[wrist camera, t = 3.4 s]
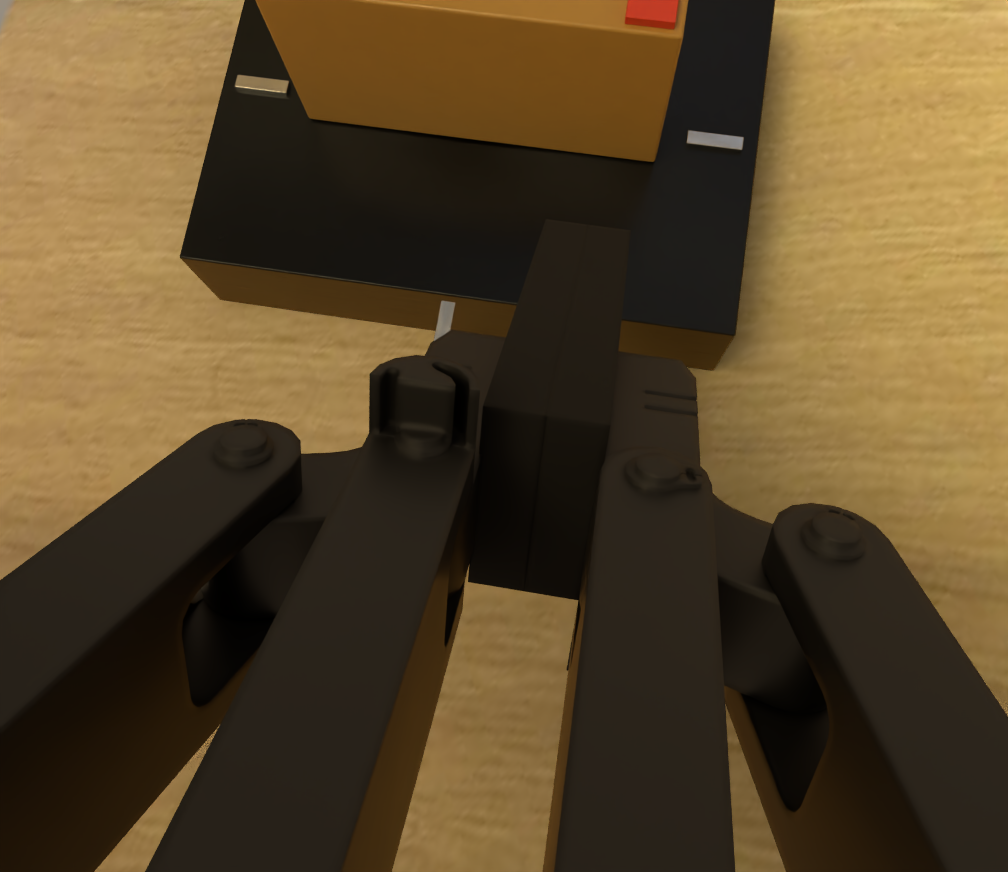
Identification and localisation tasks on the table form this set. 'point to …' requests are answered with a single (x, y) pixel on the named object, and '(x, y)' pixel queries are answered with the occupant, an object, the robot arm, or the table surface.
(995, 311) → the table surface
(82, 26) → the table surface
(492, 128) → the rectangular block
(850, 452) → the table surface
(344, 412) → the table surface
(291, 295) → the knob panel
